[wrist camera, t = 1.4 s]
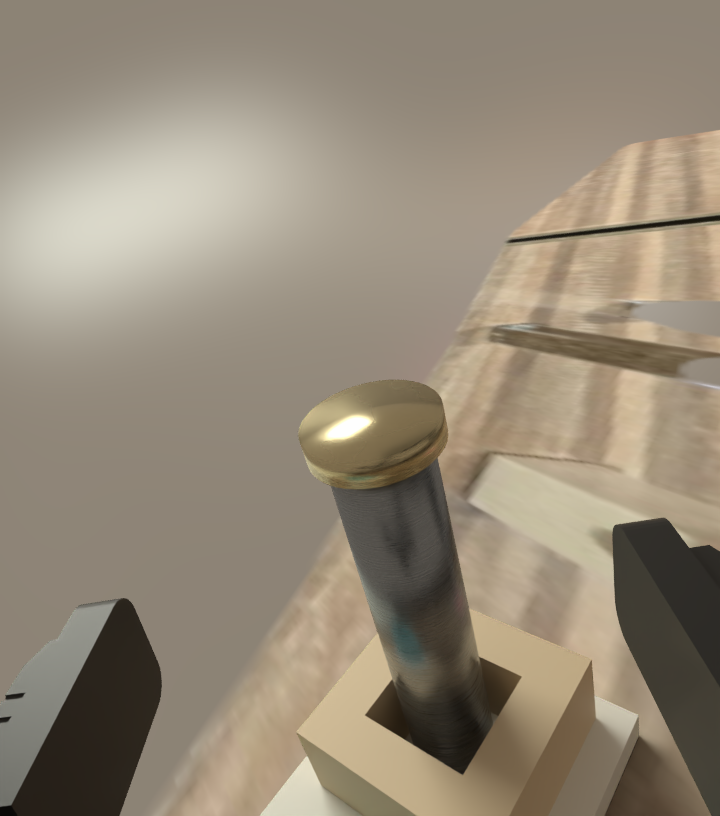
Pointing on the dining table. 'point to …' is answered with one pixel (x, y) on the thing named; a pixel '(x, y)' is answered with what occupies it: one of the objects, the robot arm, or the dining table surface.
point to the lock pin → (405, 554)
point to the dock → (495, 759)
